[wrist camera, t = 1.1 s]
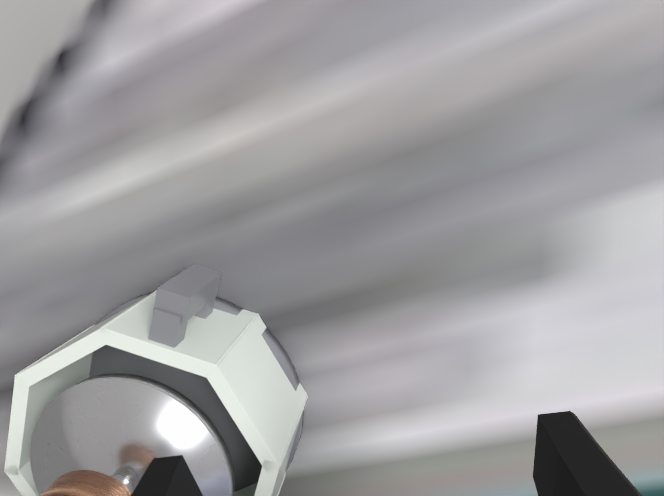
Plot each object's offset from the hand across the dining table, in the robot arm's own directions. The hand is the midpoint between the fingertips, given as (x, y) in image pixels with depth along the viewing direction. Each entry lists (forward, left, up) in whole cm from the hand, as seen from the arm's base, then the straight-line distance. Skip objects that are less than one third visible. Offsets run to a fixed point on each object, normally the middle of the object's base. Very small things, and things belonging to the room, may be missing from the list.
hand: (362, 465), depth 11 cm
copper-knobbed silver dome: (-8, +7, -6) cm, 13 cm away
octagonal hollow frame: (-8, +7, -12) cm, 16 cm away
